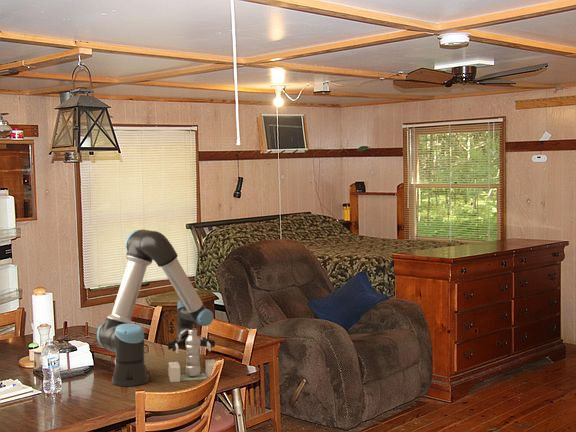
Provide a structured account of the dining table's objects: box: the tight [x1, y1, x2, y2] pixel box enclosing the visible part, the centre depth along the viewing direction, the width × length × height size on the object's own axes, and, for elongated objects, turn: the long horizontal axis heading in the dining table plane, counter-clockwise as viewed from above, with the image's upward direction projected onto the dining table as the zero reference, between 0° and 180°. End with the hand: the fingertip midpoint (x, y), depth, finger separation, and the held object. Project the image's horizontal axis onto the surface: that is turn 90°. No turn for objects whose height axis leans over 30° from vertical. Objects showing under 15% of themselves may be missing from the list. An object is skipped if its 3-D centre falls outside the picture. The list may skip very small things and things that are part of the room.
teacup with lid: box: [32, 343, 45, 370], centre depth 341 cm, size 12×9×12 cm
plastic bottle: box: [184, 328, 202, 377], centre depth 329 cm, size 6×7×20 cm
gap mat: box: [180, 372, 208, 382], centre depth 329 cm, size 8×11×1 cm
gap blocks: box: [167, 358, 216, 383], centre depth 329 cm, size 10×20×6 cm, turn 104°
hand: (193, 349), depth 325 cm, fingers open, 13 cm apart
